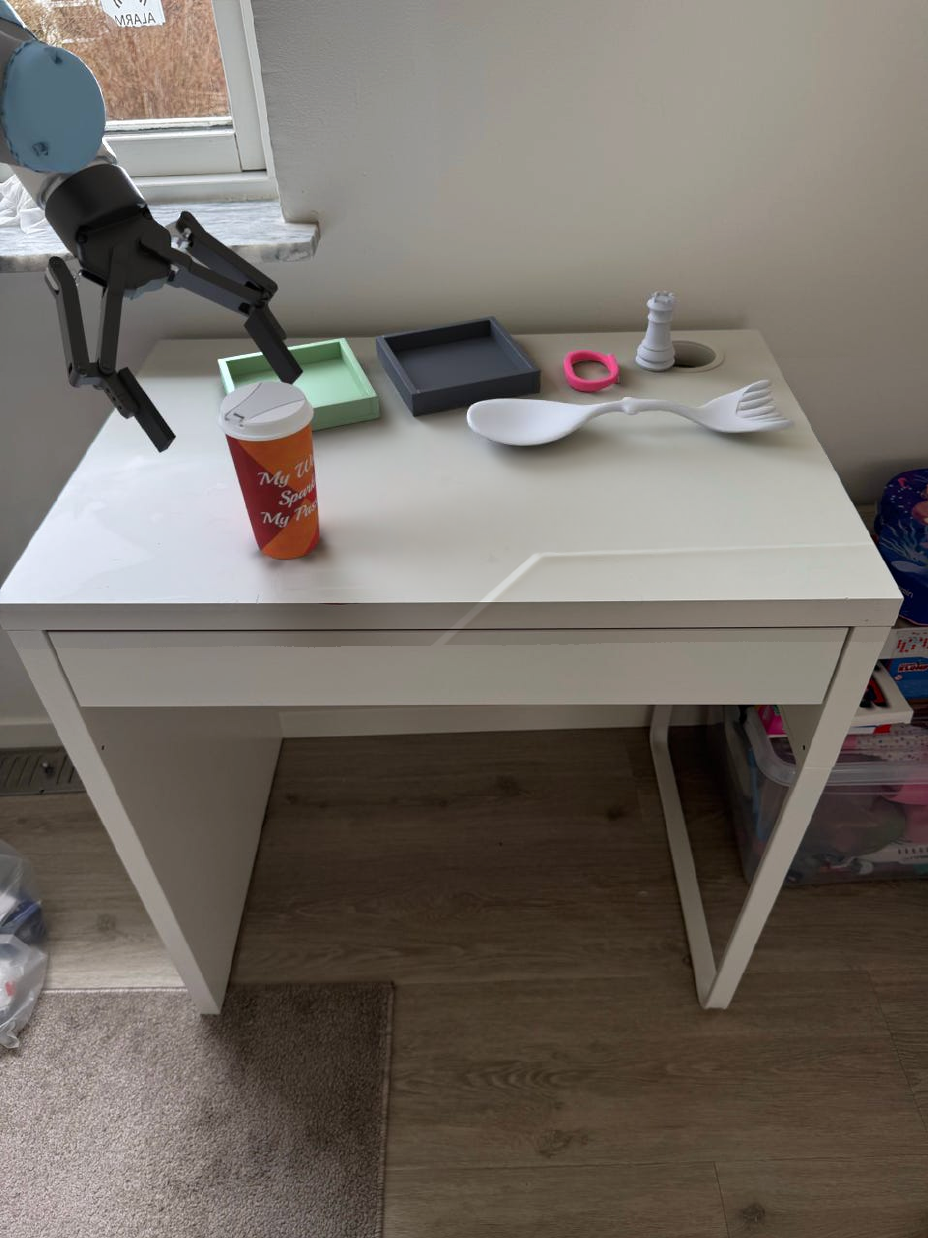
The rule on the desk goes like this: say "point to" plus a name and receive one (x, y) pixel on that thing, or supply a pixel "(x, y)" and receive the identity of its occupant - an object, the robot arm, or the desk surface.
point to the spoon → (557, 420)
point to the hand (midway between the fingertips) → (234, 411)
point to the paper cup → (274, 464)
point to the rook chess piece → (658, 334)
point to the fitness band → (586, 384)
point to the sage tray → (314, 381)
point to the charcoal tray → (456, 365)
